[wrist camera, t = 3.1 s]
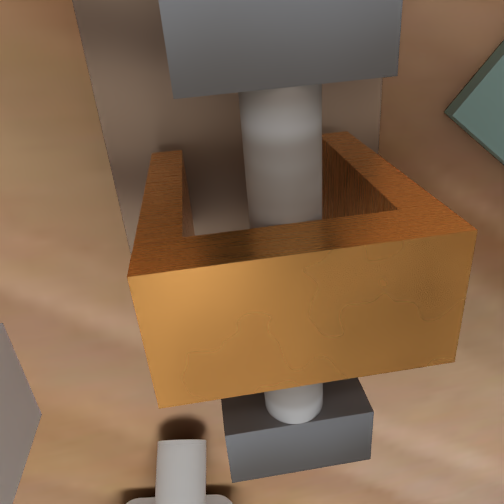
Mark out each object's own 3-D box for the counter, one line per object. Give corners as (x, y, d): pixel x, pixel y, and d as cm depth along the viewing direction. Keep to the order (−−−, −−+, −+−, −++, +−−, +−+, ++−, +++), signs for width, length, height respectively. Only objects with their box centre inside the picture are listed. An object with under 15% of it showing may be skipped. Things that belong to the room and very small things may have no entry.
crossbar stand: (76, -14, 18) (-45, -36, 8) (374, -38, 19) (574, -83, 9) (151, 318, 26) (132, 505, 16) (360, 288, 27) (462, 448, 17)
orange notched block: (152, 153, 18) (127, 276, 10) (347, 131, 19) (477, 229, 11) (168, 241, 20) (158, 408, 12) (344, 219, 21) (454, 361, 13)
